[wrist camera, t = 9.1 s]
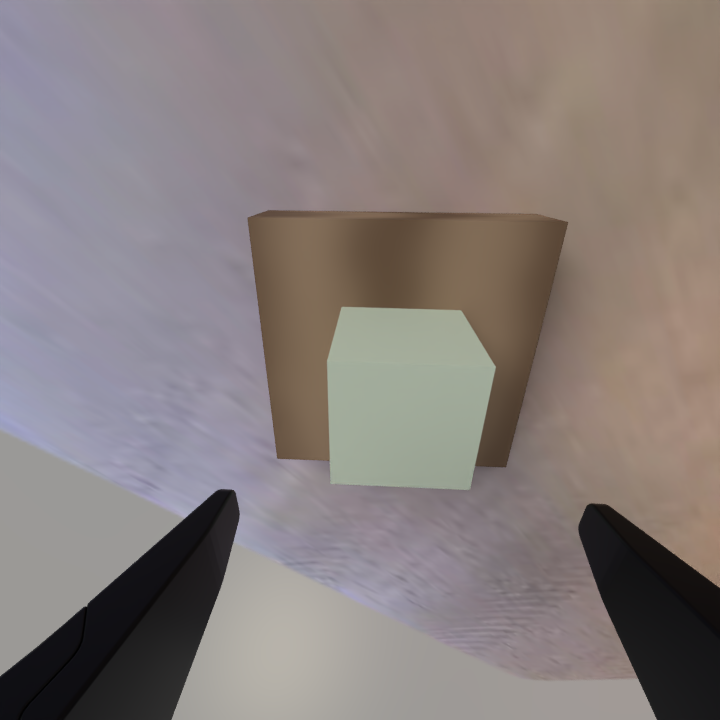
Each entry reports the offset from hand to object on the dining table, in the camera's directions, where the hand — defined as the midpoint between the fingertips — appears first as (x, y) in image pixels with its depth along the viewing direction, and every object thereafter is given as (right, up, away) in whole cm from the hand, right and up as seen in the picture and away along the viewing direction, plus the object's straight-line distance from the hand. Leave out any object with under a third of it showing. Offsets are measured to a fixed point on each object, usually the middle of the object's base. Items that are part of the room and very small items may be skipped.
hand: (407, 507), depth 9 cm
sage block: (+1, +4, +7) cm, 8 cm away
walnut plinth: (+1, +5, +10) cm, 11 cm away
